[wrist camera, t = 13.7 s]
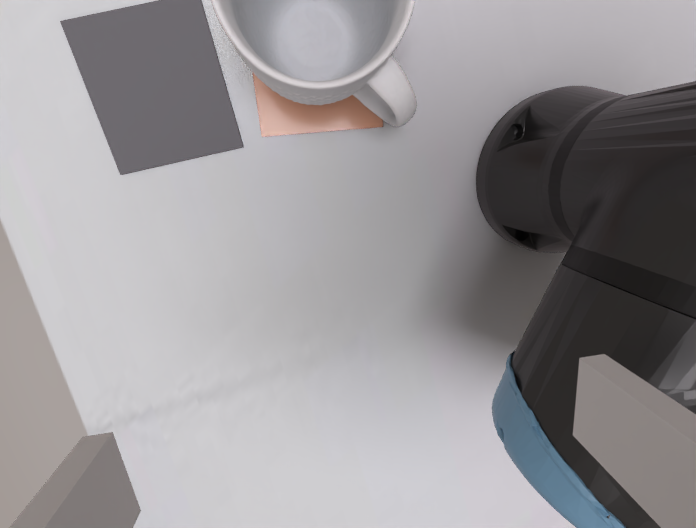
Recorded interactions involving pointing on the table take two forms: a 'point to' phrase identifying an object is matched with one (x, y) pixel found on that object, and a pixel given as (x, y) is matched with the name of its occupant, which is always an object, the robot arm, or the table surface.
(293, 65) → the mug
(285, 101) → the terracotta tile
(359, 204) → the table surface
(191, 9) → the charcoal mat
